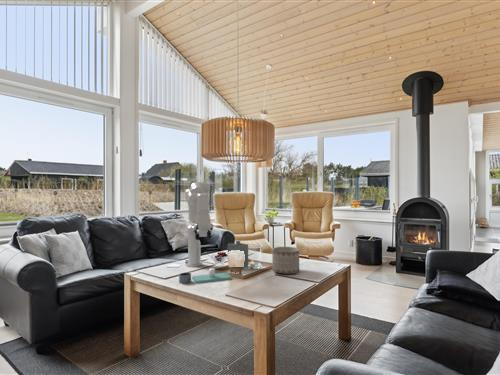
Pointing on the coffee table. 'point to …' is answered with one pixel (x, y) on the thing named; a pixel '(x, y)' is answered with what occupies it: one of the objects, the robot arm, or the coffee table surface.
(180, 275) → the gunmetal ring
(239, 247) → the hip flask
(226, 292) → the coffee table surface
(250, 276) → the coffee table surface
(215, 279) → the piston stand
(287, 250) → the planter
